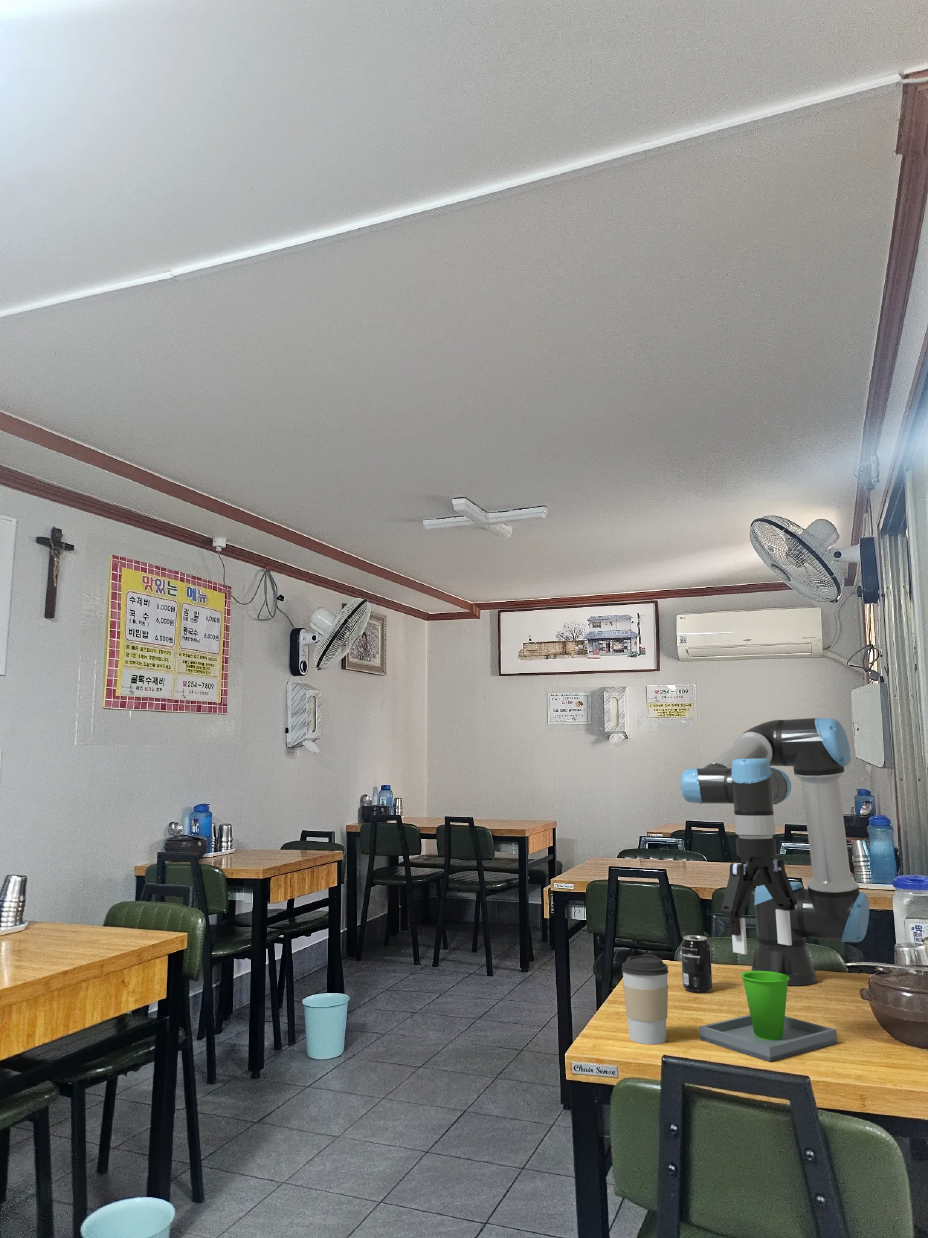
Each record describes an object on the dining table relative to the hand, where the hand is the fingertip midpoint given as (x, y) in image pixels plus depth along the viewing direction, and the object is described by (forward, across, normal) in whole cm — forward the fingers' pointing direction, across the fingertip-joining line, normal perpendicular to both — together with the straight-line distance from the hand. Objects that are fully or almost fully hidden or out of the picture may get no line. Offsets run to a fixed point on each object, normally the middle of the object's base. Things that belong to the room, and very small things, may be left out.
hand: (763, 949), depth 167 cm
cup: (+16, 0, 0) cm, 16 cm away
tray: (+17, +1, 0) cm, 17 cm away
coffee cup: (+17, +19, -14) cm, 29 cm away
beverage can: (+18, -19, -35) cm, 44 cm away
